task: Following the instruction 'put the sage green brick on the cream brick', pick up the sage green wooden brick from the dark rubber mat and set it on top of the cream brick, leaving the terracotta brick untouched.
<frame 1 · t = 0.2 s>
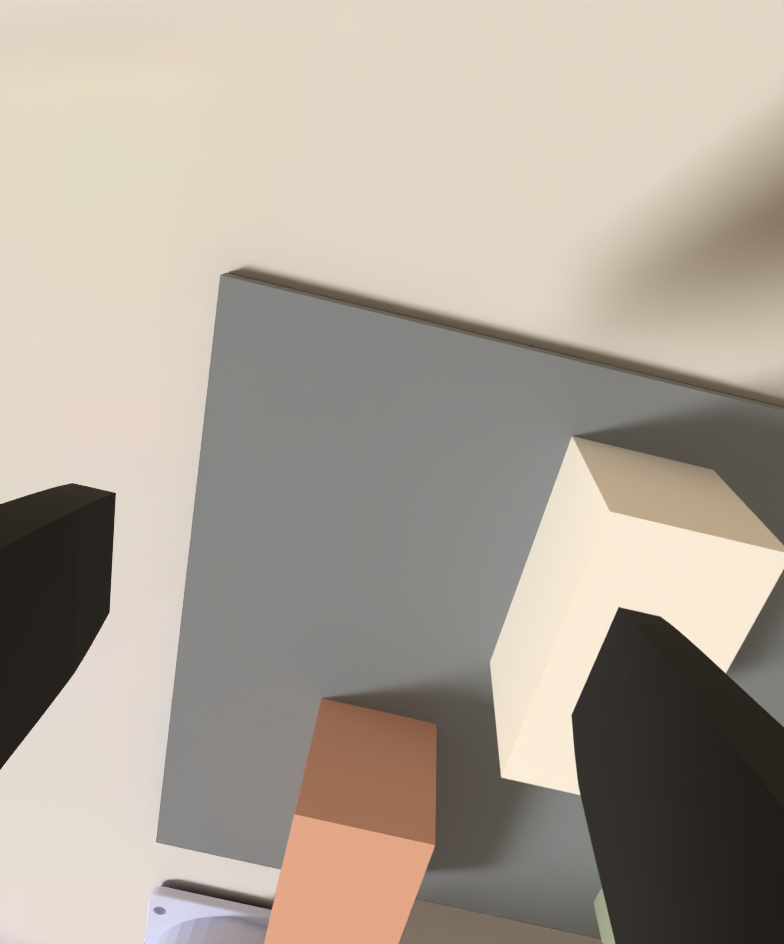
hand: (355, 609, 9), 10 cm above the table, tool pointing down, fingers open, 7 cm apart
green brick: (684, 845, 24), resting on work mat
terracotta brick: (355, 792, 24), resting on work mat
cream brick: (592, 573, 20), resting on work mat
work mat: (538, 688, 22), on the table
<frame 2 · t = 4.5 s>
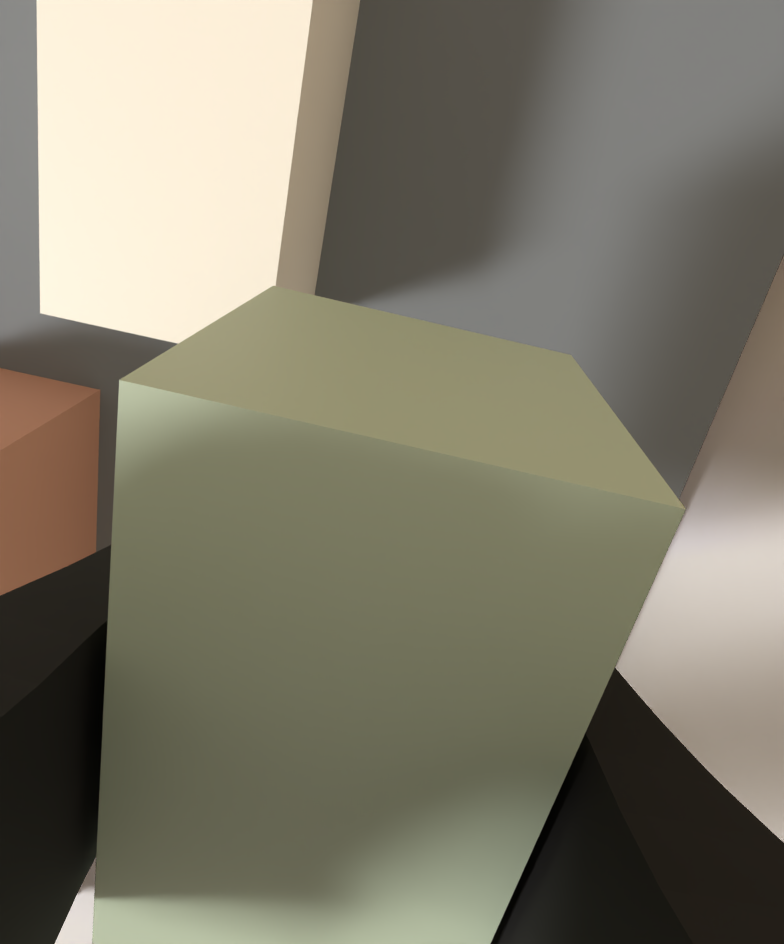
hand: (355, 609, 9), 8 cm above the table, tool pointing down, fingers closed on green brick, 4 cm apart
green brick: (363, 573, 10), point 8 cm above the table, touching gripper
terracotta brick: (25, 510, 18), resting on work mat
cream brick: (247, 109, 14), resting on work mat
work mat: (230, 334, 17), on the table
when the fingers open (7 cm above the table, at t = 6.1 s): green brick stays where it is, resting on cream brick.
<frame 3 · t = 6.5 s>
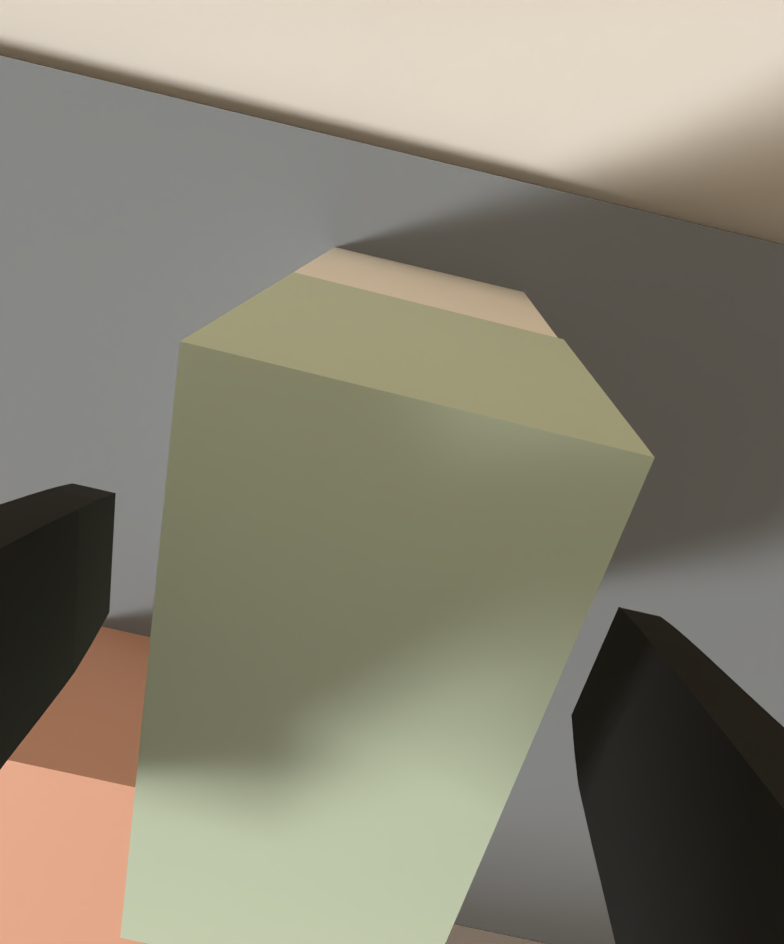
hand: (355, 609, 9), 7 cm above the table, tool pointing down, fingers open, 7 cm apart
green brick: (370, 541, 11), point 5 cm above the table, touching cream brick
terracotta brick: (144, 744, 20), resting on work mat
cream brick: (388, 445, 15), resting on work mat, touching green brick
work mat: (350, 608, 18), on the table
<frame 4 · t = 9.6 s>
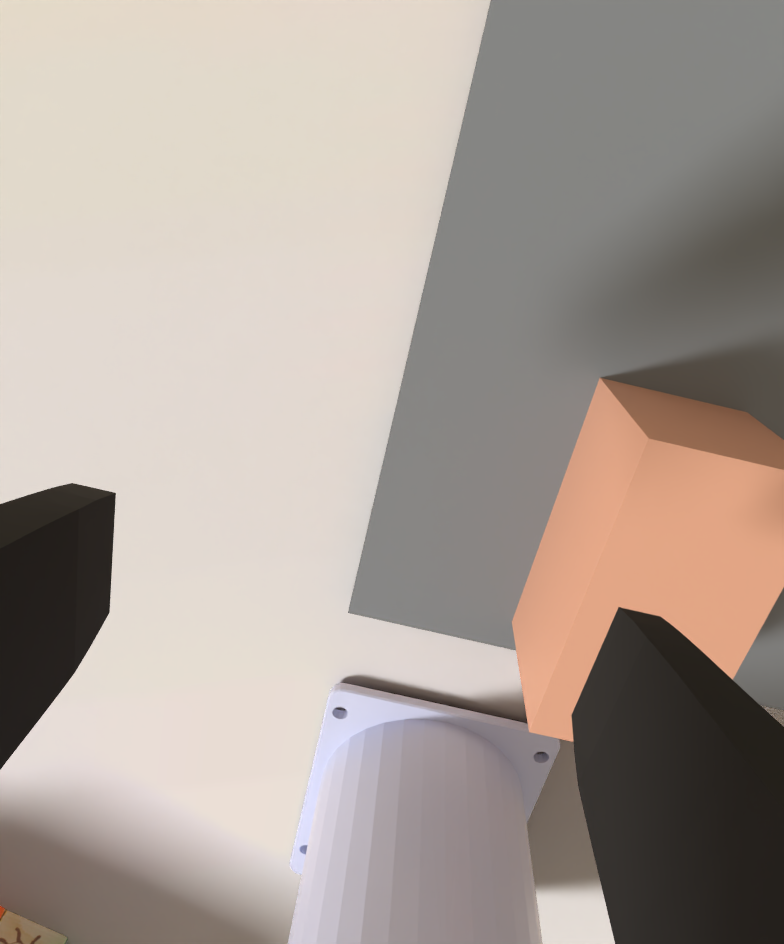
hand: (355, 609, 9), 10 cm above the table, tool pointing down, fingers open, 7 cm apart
terracotta brick: (619, 525, 19), resting on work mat
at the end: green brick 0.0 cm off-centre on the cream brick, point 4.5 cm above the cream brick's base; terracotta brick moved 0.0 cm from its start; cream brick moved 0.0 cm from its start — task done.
